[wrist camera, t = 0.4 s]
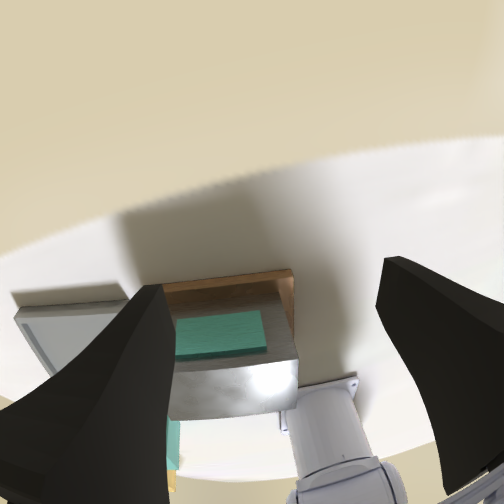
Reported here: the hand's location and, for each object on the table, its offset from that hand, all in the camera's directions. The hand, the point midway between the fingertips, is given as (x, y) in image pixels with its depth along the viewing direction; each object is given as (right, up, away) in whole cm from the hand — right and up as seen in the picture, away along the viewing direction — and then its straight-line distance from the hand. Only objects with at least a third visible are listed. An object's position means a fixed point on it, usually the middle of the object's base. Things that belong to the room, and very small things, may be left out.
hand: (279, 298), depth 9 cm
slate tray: (-15, -7, +13) cm, 21 cm away
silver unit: (-3, -3, +12) cm, 13 cm away
